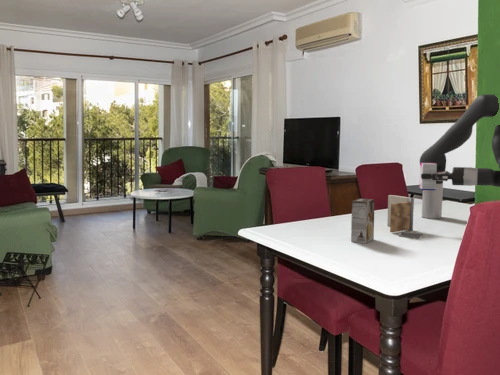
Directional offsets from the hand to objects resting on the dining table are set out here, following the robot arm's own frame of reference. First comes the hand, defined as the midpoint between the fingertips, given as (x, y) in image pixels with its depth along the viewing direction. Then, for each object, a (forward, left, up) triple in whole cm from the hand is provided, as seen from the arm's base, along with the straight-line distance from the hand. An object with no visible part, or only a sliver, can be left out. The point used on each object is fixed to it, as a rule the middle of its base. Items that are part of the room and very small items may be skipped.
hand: (422, 175), depth 195 cm
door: (+8, -7, -23) cm, 26 cm away
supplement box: (0, +2, -6) cm, 7 cm away
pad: (+13, -2, -24) cm, 27 cm away
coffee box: (+31, -18, -24) cm, 43 cm away
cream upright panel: (-1, -8, -24) cm, 25 cm away
